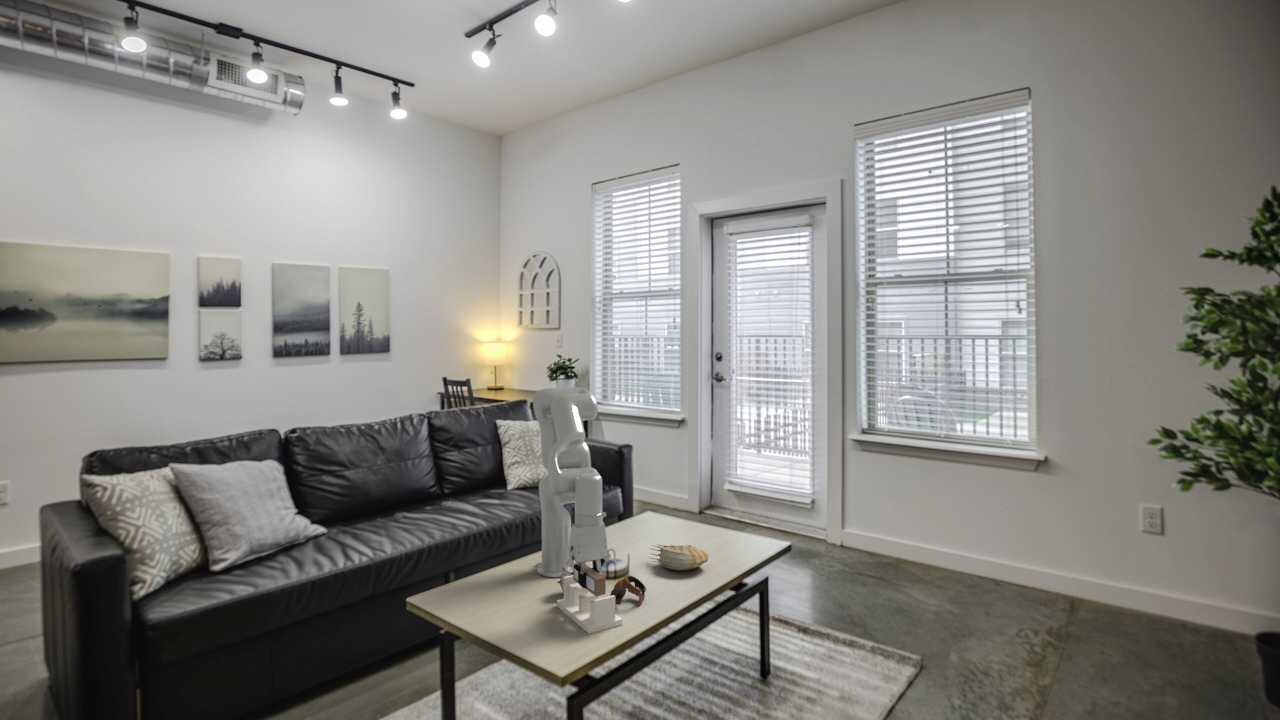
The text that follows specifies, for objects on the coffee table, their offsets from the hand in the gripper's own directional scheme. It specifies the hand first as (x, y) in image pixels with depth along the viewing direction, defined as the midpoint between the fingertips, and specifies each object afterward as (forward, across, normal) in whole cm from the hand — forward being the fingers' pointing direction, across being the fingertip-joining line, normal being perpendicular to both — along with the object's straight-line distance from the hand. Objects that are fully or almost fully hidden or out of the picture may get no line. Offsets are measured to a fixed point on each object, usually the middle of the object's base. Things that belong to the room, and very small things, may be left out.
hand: (588, 584), depth 172 cm
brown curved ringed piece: (+9, -13, -2) cm, 16 cm away
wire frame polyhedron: (+9, -2, -15) cm, 18 cm away
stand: (+9, 0, 0) cm, 9 cm away
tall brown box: (+1, 0, 0) cm, 1 cm away
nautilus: (+9, -42, -18) cm, 47 cm away
